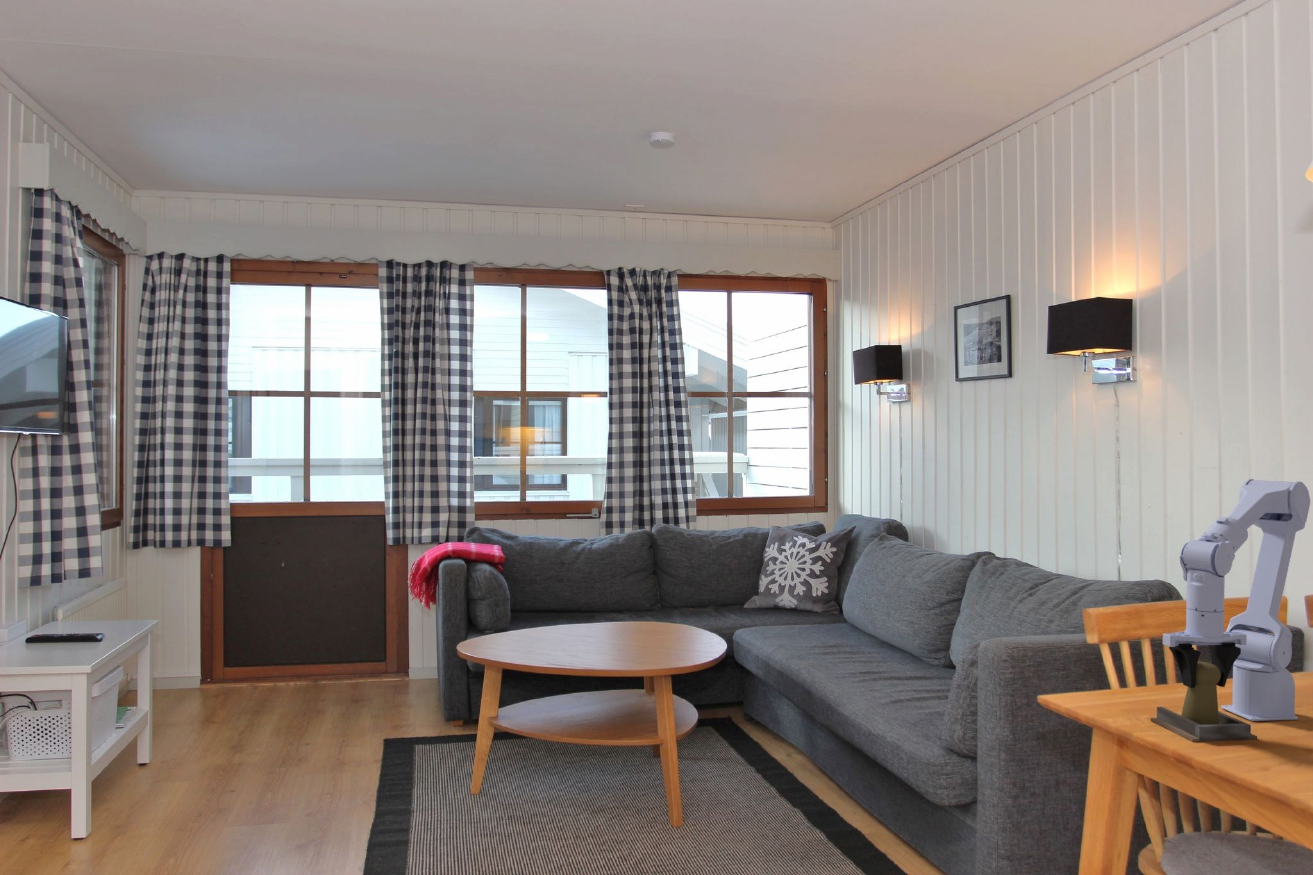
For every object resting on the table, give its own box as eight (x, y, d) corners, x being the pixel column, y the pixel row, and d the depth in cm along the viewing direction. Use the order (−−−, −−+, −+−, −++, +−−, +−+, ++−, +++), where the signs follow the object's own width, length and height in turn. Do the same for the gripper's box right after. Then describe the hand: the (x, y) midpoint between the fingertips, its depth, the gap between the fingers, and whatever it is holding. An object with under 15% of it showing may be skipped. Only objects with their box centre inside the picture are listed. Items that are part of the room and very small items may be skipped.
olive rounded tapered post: (1225, 732, 158) (1230, 669, 157) (1187, 728, 159) (1192, 666, 158) (1211, 719, 164) (1216, 659, 163) (1174, 716, 165) (1179, 656, 164)
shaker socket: (1211, 718, 167) (1211, 705, 167) (1257, 739, 156) (1257, 724, 156) (1150, 720, 166) (1150, 707, 166) (1192, 741, 155) (1192, 727, 155)
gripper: (1226, 603, 165) (1225, 678, 166) (1151, 605, 164) (1150, 680, 164) (1256, 611, 158) (1255, 689, 159) (1178, 613, 157) (1177, 691, 157)
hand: (1203, 685), depth 161 cm, fingers closed on olive rounded tapered post, 5 cm apart
